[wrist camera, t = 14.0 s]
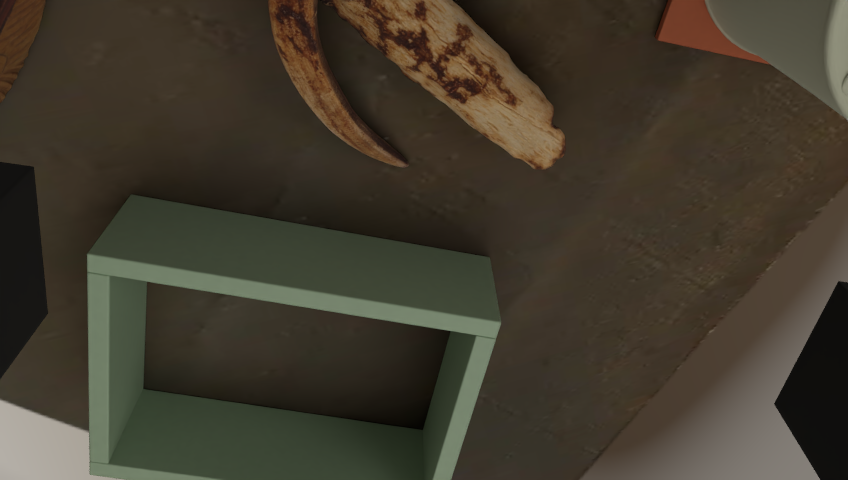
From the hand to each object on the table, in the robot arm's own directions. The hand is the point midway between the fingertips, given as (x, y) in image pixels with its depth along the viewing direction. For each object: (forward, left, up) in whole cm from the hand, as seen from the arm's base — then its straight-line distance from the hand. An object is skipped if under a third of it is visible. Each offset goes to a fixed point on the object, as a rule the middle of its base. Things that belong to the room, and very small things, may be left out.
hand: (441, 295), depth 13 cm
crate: (+20, -3, -24) cm, 32 cm away
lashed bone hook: (+3, -1, -24) cm, 25 cm away
